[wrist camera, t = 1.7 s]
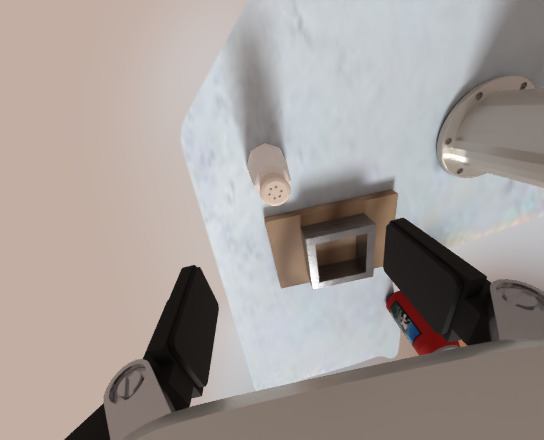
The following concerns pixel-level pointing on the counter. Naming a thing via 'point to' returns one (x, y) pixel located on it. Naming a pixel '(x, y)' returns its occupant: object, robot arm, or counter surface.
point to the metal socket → (335, 231)
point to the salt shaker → (269, 174)
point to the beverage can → (416, 326)
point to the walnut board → (290, 244)
